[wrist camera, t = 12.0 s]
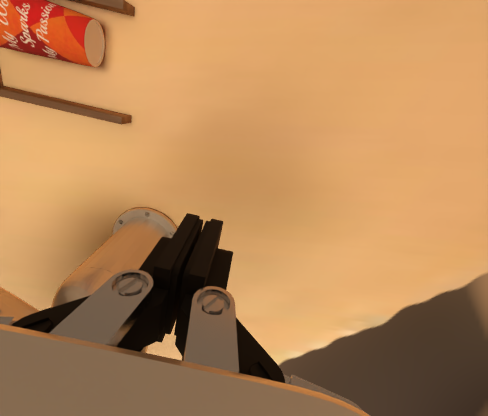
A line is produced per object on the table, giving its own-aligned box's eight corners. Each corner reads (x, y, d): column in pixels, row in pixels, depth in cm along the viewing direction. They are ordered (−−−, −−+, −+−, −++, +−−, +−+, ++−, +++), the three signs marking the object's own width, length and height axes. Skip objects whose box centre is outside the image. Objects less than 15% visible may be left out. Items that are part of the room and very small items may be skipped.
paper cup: (80, 76, 32) (-45, 42, 30) (108, 74, 39) (7, 46, 37) (77, 0, 29) (-65, -44, 27) (108, 13, 35) (-3, -22, 33)
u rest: (131, 122, 40) (121, 124, 38) (-3, 91, 40) (-22, 91, 37) (134, 7, 34) (123, -1, 31) (-24, -32, 34) (-49, -43, 31)
